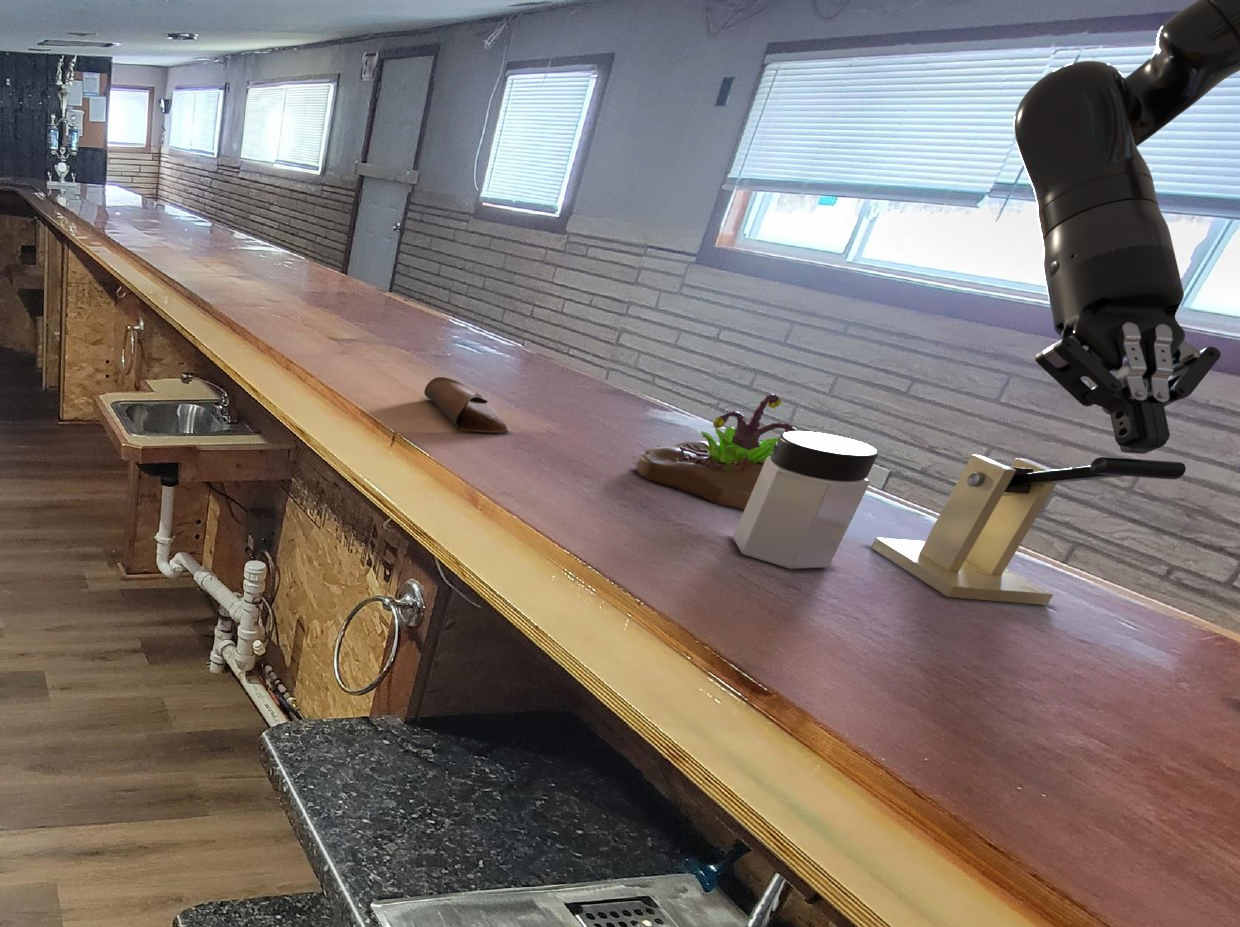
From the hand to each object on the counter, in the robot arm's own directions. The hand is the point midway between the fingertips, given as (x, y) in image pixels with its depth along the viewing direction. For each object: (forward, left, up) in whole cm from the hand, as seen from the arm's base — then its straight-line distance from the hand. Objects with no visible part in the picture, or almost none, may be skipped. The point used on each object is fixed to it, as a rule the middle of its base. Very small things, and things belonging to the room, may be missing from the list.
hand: (1145, 448), depth 74 cm
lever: (0, -5, -5) cm, 7 cm away
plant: (+10, -36, -17) cm, 41 cm away
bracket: (0, -11, -17) cm, 20 cm away
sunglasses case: (+38, -60, -17) cm, 73 cm away
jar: (+16, -13, -17) cm, 26 cm away
